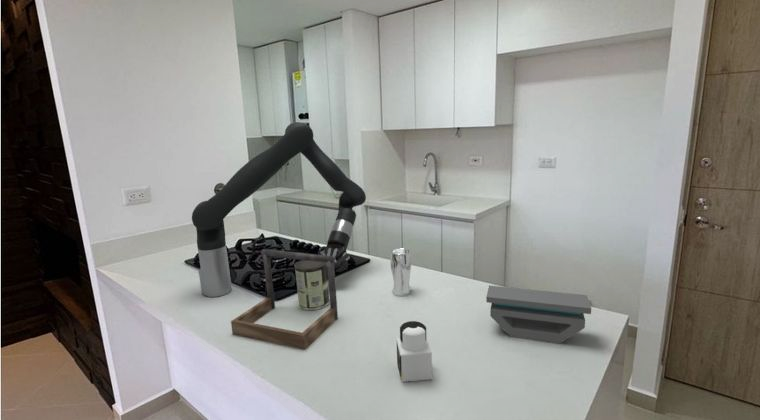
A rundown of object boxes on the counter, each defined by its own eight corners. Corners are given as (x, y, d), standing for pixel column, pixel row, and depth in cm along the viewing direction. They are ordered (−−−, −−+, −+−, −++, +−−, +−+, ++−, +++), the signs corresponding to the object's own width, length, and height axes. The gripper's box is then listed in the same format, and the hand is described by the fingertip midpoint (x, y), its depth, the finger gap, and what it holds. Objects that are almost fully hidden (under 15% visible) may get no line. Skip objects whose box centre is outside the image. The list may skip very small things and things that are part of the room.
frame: (271, 306, 129) (265, 248, 125) (339, 317, 119) (334, 255, 115) (231, 333, 113) (222, 268, 108) (306, 349, 103) (299, 278, 99)
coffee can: (316, 294, 137) (313, 255, 134) (335, 302, 130) (333, 262, 127) (291, 304, 130) (287, 264, 127) (310, 313, 123) (307, 271, 120)
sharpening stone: (583, 332, 106) (586, 295, 103) (588, 348, 99) (591, 308, 96) (488, 320, 114) (489, 285, 112) (485, 333, 107) (486, 296, 105)
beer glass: (412, 288, 138) (411, 247, 135) (411, 296, 132) (410, 254, 128) (392, 288, 139) (390, 247, 136) (390, 296, 132) (389, 254, 129)
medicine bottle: (397, 364, 95) (395, 319, 93) (426, 361, 96) (425, 316, 93) (401, 383, 88) (399, 334, 86) (432, 380, 89) (431, 332, 86)
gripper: (320, 228, 145) (305, 271, 136) (353, 230, 140) (338, 275, 131) (329, 238, 151) (314, 280, 142) (360, 240, 146) (347, 284, 137)
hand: (326, 277), depth 137 cm, fingers closed
